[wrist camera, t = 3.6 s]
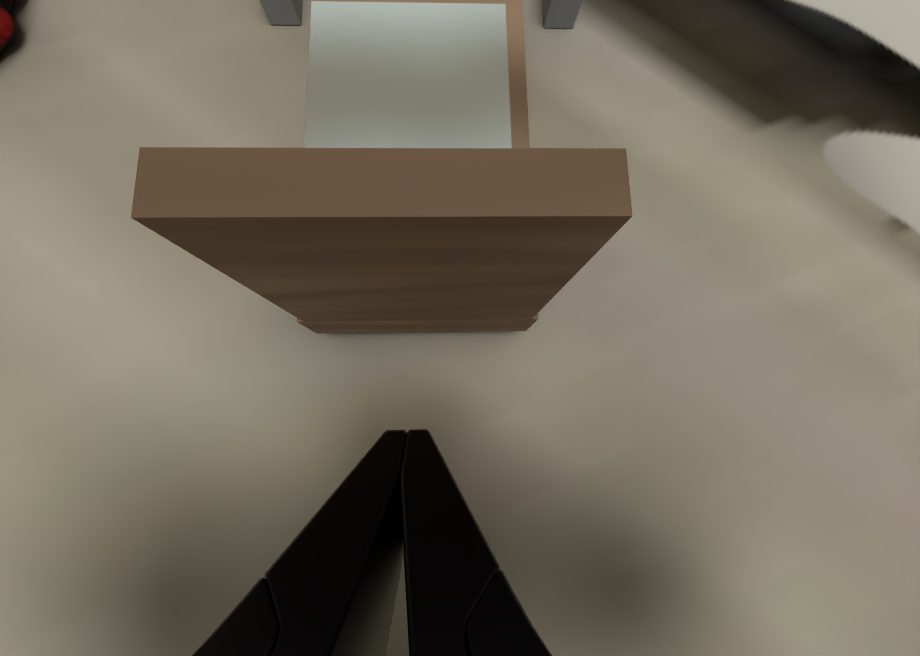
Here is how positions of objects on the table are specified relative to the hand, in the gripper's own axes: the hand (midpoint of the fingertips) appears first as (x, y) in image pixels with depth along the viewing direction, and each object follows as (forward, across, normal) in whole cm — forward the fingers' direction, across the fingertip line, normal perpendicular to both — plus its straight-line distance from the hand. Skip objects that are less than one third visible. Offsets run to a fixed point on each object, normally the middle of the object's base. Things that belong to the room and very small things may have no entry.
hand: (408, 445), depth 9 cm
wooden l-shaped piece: (+12, 0, +3) cm, 12 cm away
